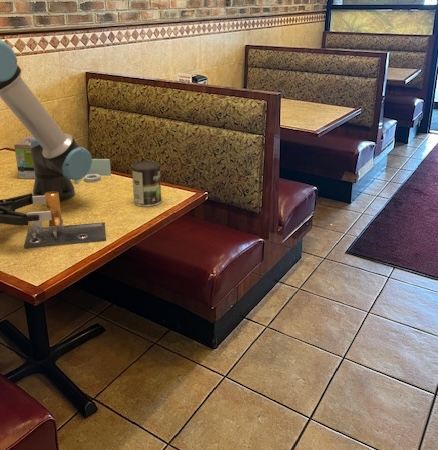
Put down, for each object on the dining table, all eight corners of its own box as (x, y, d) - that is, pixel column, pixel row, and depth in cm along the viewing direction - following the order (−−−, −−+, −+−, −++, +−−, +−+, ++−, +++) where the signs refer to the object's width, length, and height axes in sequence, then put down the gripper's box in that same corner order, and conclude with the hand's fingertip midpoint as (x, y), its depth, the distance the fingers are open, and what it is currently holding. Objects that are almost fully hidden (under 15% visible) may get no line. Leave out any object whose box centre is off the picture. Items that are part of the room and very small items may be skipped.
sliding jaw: (50, 227, 160) (45, 191, 155) (63, 226, 161) (58, 190, 156) (48, 239, 152) (43, 201, 147) (62, 238, 153) (57, 200, 148)
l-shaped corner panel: (75, 185, 202) (73, 167, 199) (83, 175, 213) (81, 158, 210) (105, 185, 202) (103, 167, 199) (111, 176, 213) (109, 159, 210)
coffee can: (165, 197, 188) (163, 161, 182) (156, 207, 179) (154, 170, 173) (139, 195, 190) (137, 160, 184) (129, 205, 181) (126, 168, 175)
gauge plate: (28, 231, 160) (27, 221, 159) (105, 225, 165) (104, 214, 164) (24, 248, 150) (22, 237, 148) (106, 240, 155) (105, 229, 153)
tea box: (42, 179, 207) (37, 144, 201) (18, 179, 207) (12, 144, 201) (54, 168, 220) (49, 135, 214) (31, 168, 220) (26, 135, 214)
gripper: (-11, 208, 163) (56, 203, 167) (-28, 241, 141) (51, 234, 145) (-16, 187, 160) (53, 182, 164) (-33, 217, 138) (47, 211, 142)
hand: (52, 206), depth 155 cm, fingers open, 13 cm apart
